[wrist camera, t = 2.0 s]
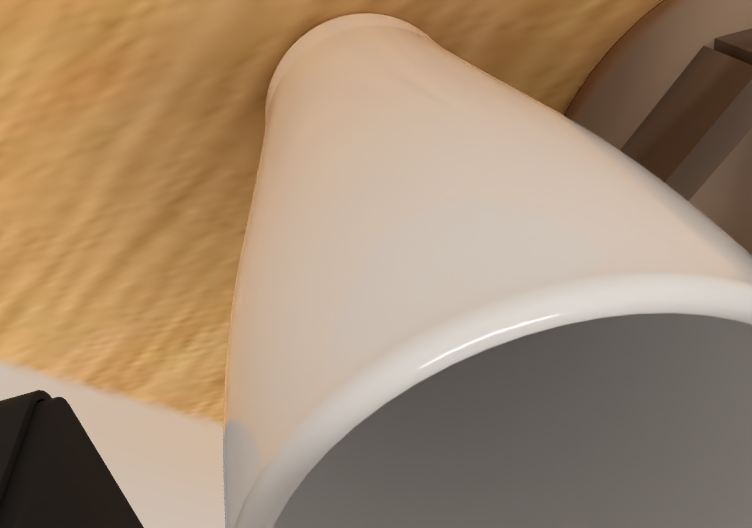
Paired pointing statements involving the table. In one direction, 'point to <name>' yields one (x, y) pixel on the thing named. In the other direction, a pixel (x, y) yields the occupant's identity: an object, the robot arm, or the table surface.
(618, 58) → the glass holder
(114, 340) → the table surface
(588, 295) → the drinking glass
